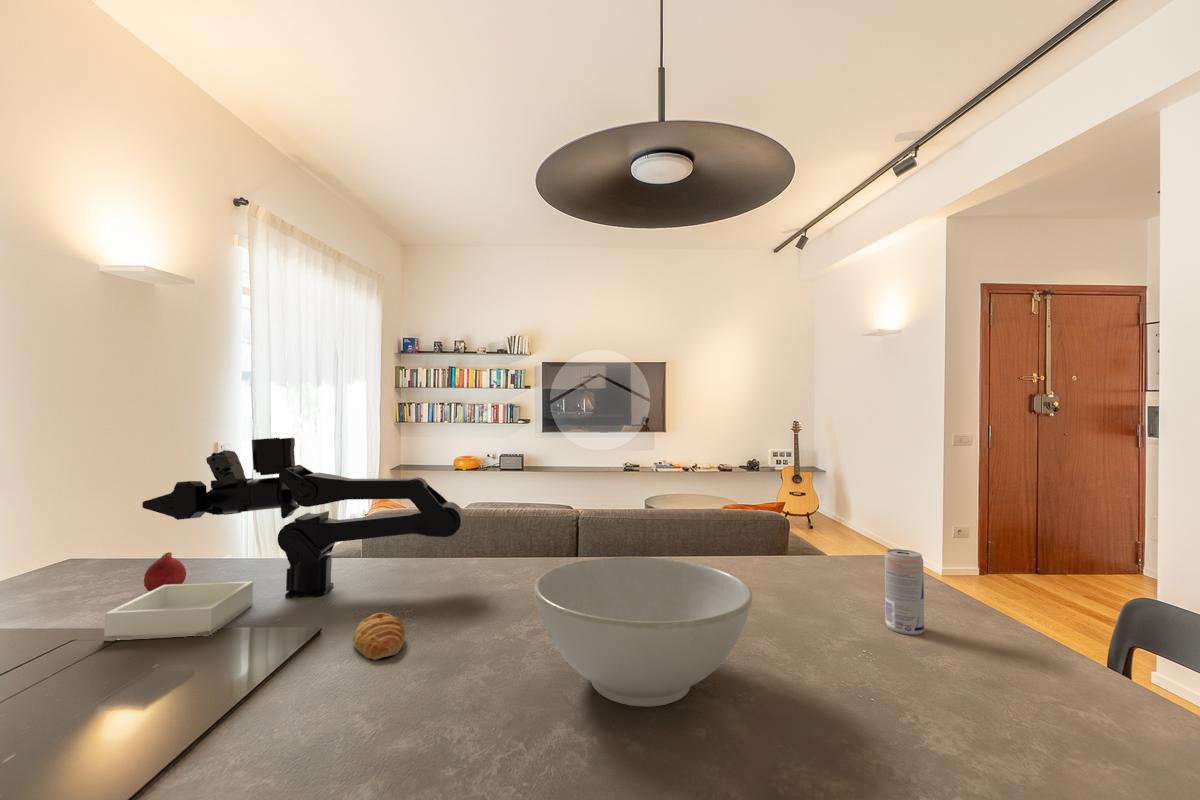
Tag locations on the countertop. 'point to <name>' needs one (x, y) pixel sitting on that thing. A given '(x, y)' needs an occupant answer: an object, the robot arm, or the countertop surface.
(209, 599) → the bin
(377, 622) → the pastry
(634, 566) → the decorative bowl
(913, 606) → the energy drink
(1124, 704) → the countertop surface
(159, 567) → the onion
